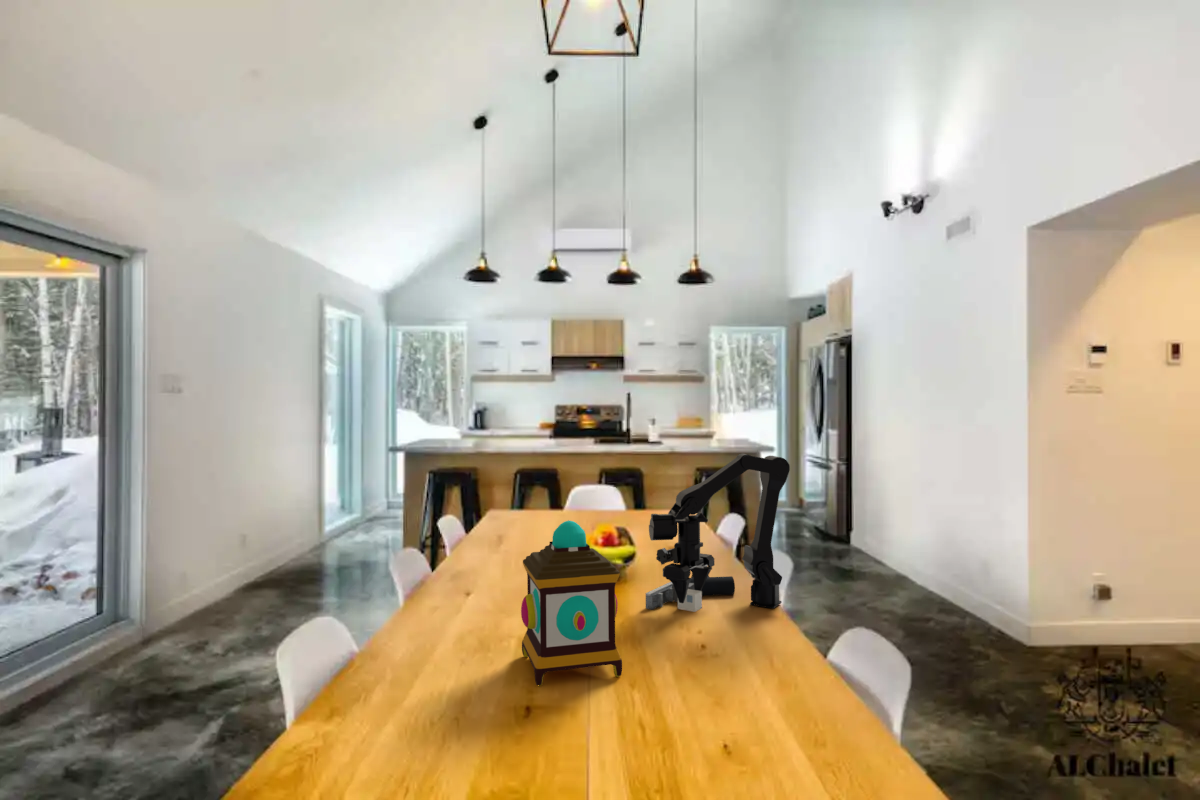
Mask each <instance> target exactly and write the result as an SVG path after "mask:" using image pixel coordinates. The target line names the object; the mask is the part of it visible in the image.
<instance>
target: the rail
mask: <svg viewBox="0 0 1200 800" xmlns="http://www.w3.org/2000/svg"><path fill="white" fill-rule="evenodd" d="M672 585H673V583H672V582H671V581H668V582H666V583H664V584H662V585H661V586H659V587H657V588H655V589H652V590H650V591H648V592H646V593H645V610H646V609H647V610H651V611H652V610H656V609H657V608H663V607H664V605H665V604H666V603H668V602H671V603H672V602H675V601H674V588H672Z"/></svg>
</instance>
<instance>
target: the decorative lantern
mask: <svg viewBox="0 0 1200 800" xmlns="http://www.w3.org/2000/svg"><path fill="white" fill-rule="evenodd" d="M522 566H523V568H524V570H525V572H526V573H527V574H526V575H527V576H526V579H527V594H526V595H525V596H524V597H523V600H522V602H521V608H520V615H521V621H522V623H523V625H524V626H525V627H526V628H527V629H526V632H525V634H524V636H523V637H522V638H523V639H522V641H521V653H522V656H523V657H524V658H528V659H529V661H530V663H531V666H532V667H533V672H534V680H535V684H536V686H537V685H539V686H538V687H541V686H542V685H543V682H544V675H545V674H546V673H549V672H557V671H565V670H566V671H567V670H575V669H584V668H590V667H591V668H593V667H600V666H601V667H602V666H611V665H612V667H613V674H614V676H615V677H616V678H619V677H621V675H622V673H623V672H622V671H623V660H622V657H621V654H620V652H619V650H618V648H617V645H616V617H617V614H618V598H617V595H616V585H617V582H618V580H619V577H620V575H621V573H620V570H618V569H617V567H616V566H615V565H614V564H612V563H611V561H609V560H608V559H607V558H606V557H605V556H603V555H602V554H601V553H599V552H598V551H597V550H596V549H594V548H591V547H590V545H589V544H588V543H587V536H586V532H585V530H584V529H583V528H582V527H581V525H579V524H578V523H577V522H575V521H573V520H569V519H568V520H565V521H563V522H562V523H561V524H559V525H558V526H557V528H556V529H555V530H554V531H553V533H552V541H549V545H548V544H547V545H545V546H544V548H542V549H540V551H533V552H531V553H530V555H527V556H526V557H525V559H522ZM540 685H541V686H540Z"/></svg>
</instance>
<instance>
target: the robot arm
mask: <svg viewBox="0 0 1200 800" xmlns="http://www.w3.org/2000/svg"><path fill="white" fill-rule="evenodd" d="M748 470H750V471H756V472H759V478H760V483H761V488H762V489H761V495H760V501H759V506H758V513H757V519H756V523H755V524H756V525H755V530H754V535H753V540H752V542H751V544H750V545H747V544H745V545H744V548H743V550H744V552H743V553H744V554H743V557H742V558H741V560H742V561H743V565H744V567H745V569H746V570H747V572H749V573H750V575H751V578H752V579H753V580H752V584H751V586H750V600H751V601H750V602H749V605H750V606H754V607H756V606H757V607H762V608H767V609H775V608H777V607H778V606H779V605H781V604H782V600H780V585H781V583H782V580H783V576H782V575H781V574H780V573H779V572H778V571H777V570H776V569H775V568H774V555H773V554H774V552H773V547H772V541H773V534H774V533H773V532H774V528H775V523H776V518H777V517H776V516H777V510H778V504H779V499H780V492H781V490H782V489H783V487H784V485H785V484H786V482H787V480H788V477H789V474H790V471H791V466H790V463H789V462H788V460H787V459H785V458H783V457H782V456H781V457H780V456H776V455H767V456H765V457H759V456H755V455H750V454H746V453H740V454H738V455H736V456H735V458H734V459H732V460H731V461H729V462H728V463H726V464H725V465H724V466H723V467H721V468H720V469H718V470H717V471H716V472H714V473H713V474H712V475H710V476H709V477H707V478H706V479H705V480H703V481H701V482H699V483H698V484H695V485H692V486H689V487H687V488H685V489H683V490H681V491H680V492H678V493H677V494H676V497H675V503H674V504H673V505H672V506H671V509H669V511H668V512H667V513H661V514H660V513H659V514H658V513H651V514H650V520H649V524H648V534H649V535H648V536H649V538H650V541H670V540H674V539H675V538H677V541H678V542H675V543H674V545H673V548H669V549H667V548H666V547H663V548H660V549H657V550H656V557H655V559H656V561H658V562H659V563H660V565H661V566H662V565H665V564H667V563H670V564H668V565H665V566H664V567H663V568H662V577H663V578H665V579H666V580H668V581H669V582H672V583H673V585H674V588H675V591H676V594H677V597H678V600H679V602H680V603H684V600H685V597H686V594H687V590H688V586H689V583H690V579H691V577H690V575H692V573H693V579H694V588H695V590H698V591H701V590H702V588H703V586H704V583H705V581H706V579H707V577H708V576H710V573H711V571H712V570H713V567H714V566H715V558H714V556H713V555H712V554H707V553H701V548H702V547H704V542H702V541H701V523H708V521H709V519H708V518H707V517H705V515H704V514H703V513H702V512H701V510H702V509H703V508H704V507H705V506H706V505H707V504H708V503H709V501H710V500H711V498H712V497H713V496H714V495H715V494H716V493H718V492H719V491H721V490H722V489H723V488H725V487H726V486H728V485H729V484H730V483H731V482H733V481H734V480H735V479H738V478H739V477H740V476H741V475H743V474H744V473H745V472H747V471H748ZM676 536H677V537H676ZM671 562H672V563H671Z"/></svg>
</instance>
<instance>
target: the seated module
mask: <svg viewBox="0 0 1200 800" xmlns="http://www.w3.org/2000/svg"><path fill="white" fill-rule="evenodd" d="M672 588H674V585H672ZM688 589H692V590H695V588H694V583H689V586H688ZM673 602H677V603H678V597H677V594H676V591H675V588H674V601H673Z"/></svg>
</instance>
